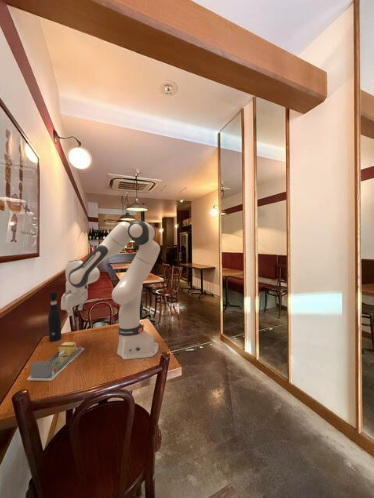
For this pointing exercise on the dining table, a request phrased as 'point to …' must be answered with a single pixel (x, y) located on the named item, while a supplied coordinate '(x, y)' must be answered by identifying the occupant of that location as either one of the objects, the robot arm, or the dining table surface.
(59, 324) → the wine bottle
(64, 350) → the block
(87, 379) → the dining table surface
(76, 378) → the dining table surface
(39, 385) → the dining table surface
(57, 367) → the track
